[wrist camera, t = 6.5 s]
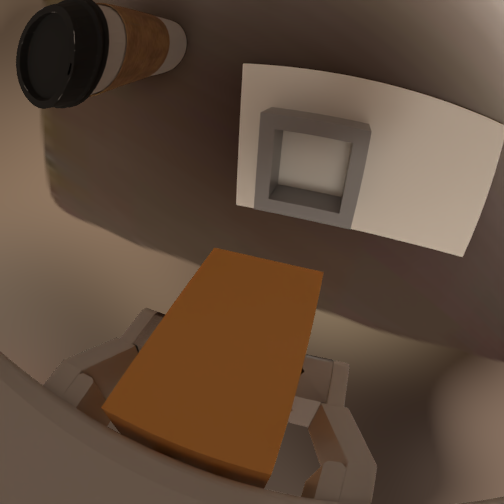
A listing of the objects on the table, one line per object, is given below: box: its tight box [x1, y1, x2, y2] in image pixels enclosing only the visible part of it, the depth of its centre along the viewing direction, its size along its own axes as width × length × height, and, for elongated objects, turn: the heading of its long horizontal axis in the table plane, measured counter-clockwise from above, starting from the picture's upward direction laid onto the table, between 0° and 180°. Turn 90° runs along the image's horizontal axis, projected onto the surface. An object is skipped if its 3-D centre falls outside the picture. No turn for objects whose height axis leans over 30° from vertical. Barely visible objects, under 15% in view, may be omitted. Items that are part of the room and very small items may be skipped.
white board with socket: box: [236, 63, 504, 257], centre depth 24 cm, size 14×24×4 cm, turn 86°
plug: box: [101, 248, 323, 489], centre depth 9 cm, size 4×4×9 cm
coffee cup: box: [16, 0, 187, 109], centre depth 19 cm, size 8×8×15 cm
